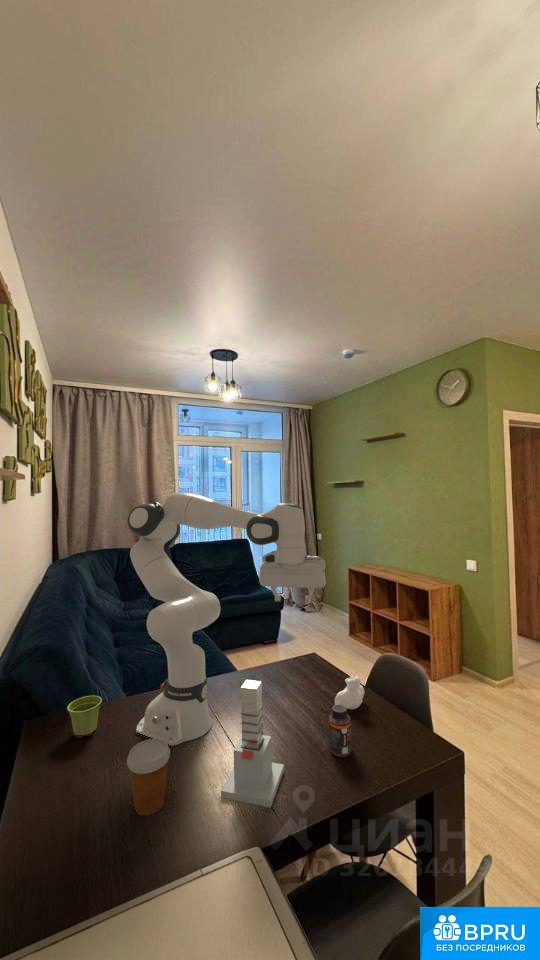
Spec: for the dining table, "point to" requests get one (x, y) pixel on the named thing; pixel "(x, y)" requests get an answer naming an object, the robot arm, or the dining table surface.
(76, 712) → the plant pot
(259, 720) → the column
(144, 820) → the dining table surface
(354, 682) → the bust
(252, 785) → the stand base
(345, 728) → the supplement bottle
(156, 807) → the disposable coffee cup
